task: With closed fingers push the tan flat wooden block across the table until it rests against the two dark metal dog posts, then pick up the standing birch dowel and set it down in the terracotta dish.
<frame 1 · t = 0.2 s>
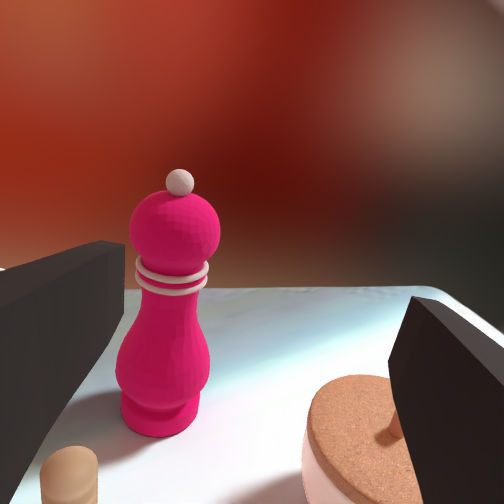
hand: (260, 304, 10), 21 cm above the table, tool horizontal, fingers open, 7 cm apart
pepper mill: (160, 409, 34), on the table
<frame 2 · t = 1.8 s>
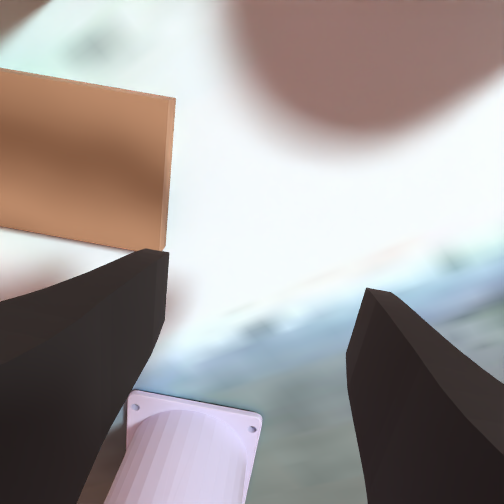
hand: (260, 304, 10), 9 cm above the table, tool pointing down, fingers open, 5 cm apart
tan flat wooden block: (80, 158, 20), on the table
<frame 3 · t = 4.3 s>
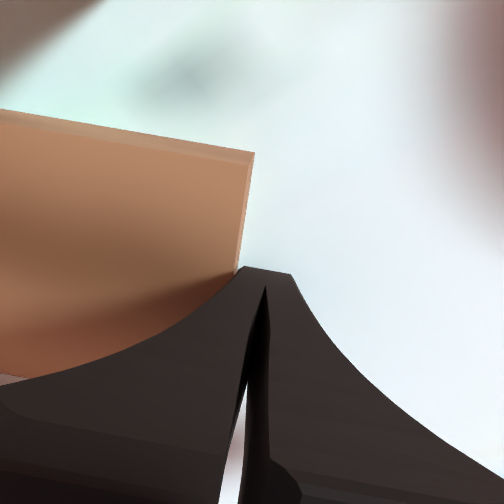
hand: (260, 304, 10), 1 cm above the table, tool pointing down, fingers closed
tan flat wooden block: (78, 248, 12), on the table, touching gripper
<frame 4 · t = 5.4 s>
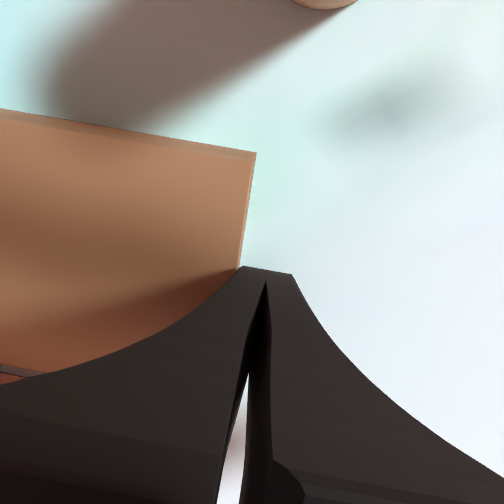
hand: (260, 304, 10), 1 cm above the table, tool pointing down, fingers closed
tan flat wooden block: (84, 243, 12), on the table
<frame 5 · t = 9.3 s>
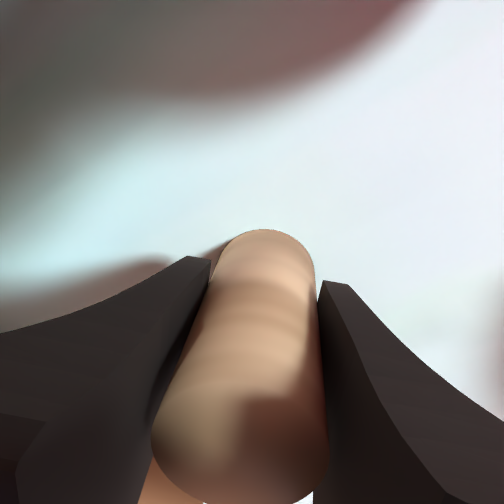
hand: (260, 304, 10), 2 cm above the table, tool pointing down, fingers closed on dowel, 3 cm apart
tan flat wooden block: (98, 425, 16), on the table
dowel: (265, 274, 12), on the table, touching gripper
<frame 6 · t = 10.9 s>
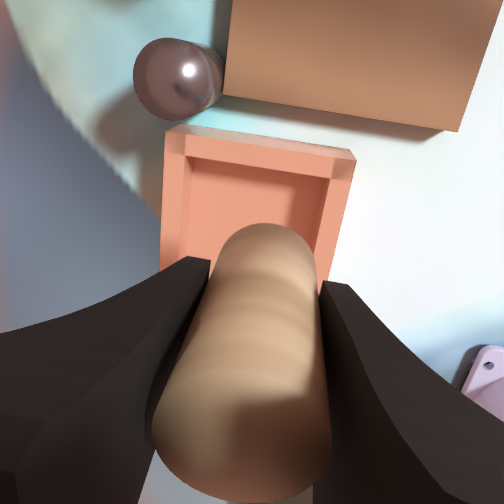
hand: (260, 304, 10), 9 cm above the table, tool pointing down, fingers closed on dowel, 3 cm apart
tan flat wooden block: (356, 12, 16), on the table
dowel: (266, 268, 12), point 7 cm above the table, touching gripper
dish: (249, 236, 19), on the table
when the fingers open (3 cm above the table, at t = 12.4 s): dowel drops 1 cm, resting on dish.
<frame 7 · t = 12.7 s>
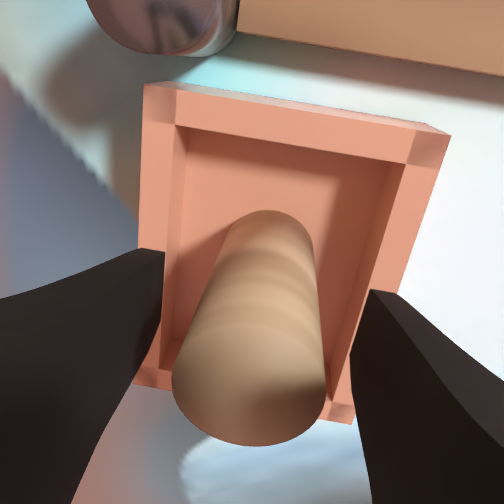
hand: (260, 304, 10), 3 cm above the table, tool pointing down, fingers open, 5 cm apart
dowel: (268, 252, 13), point 1 cm above the table, touching dish
dish: (268, 249, 13), on the table
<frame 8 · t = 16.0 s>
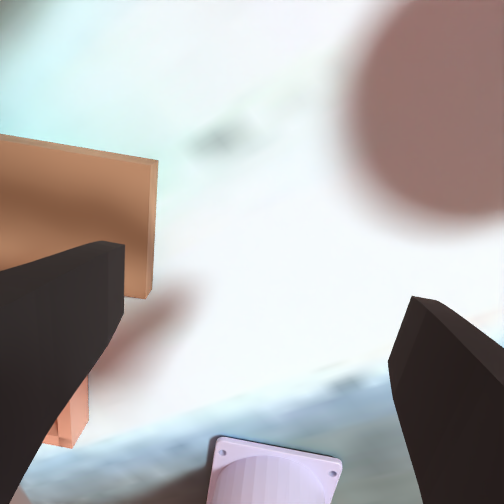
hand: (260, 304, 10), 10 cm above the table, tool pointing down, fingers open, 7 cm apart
tan flat wooden block: (73, 210, 21), on the table
dish: (29, 353, 25), on the table
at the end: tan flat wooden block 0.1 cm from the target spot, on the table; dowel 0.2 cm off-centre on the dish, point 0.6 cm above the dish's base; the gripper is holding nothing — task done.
